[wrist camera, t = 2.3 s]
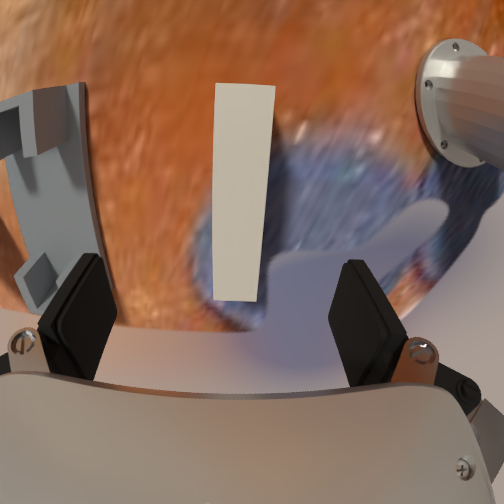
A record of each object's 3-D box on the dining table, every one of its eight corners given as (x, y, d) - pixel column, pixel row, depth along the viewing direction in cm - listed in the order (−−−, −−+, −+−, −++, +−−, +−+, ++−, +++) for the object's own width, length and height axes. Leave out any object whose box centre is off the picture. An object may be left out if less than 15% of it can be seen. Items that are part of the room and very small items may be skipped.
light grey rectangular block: (265, 87, 19) (275, 86, 13) (253, 248, 26) (256, 301, 20) (224, 85, 18) (215, 83, 13) (219, 247, 26) (213, 300, 20)
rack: (84, 82, 17) (46, 86, 12) (113, 287, 28) (95, 324, 23) (6, 105, 16) (-32, 116, 12) (44, 280, 27) (22, 311, 23)
